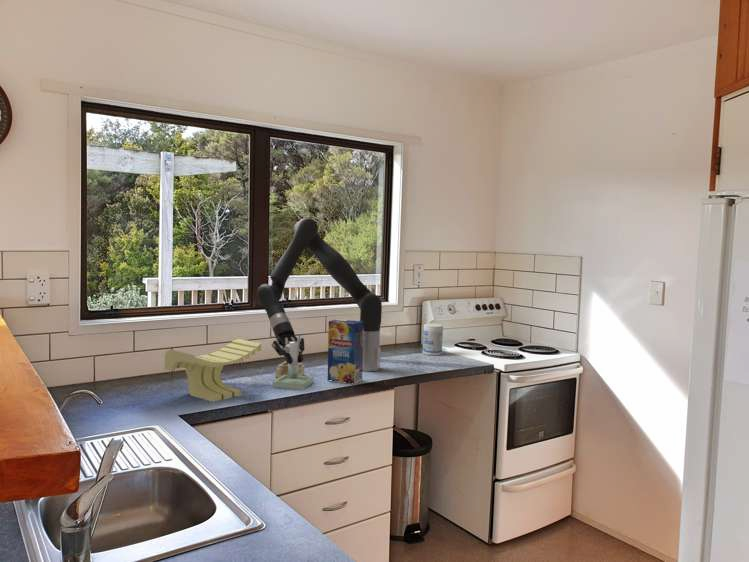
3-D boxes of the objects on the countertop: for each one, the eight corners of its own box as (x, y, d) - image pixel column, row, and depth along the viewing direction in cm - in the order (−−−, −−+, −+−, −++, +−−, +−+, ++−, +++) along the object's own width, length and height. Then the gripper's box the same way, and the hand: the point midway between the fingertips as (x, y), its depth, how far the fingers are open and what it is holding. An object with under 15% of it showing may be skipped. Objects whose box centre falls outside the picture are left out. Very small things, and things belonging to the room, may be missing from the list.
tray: (313, 382, 243) (313, 376, 243) (302, 389, 231) (302, 384, 231) (284, 379, 246) (284, 374, 246) (272, 387, 234) (272, 381, 234)
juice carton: (362, 380, 248) (363, 321, 246) (354, 384, 241) (355, 323, 239) (336, 376, 253) (337, 319, 251) (327, 380, 246) (328, 321, 244)
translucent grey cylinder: (299, 376, 240) (300, 341, 239) (296, 379, 236) (296, 343, 235) (290, 376, 241) (290, 340, 240) (286, 378, 237) (287, 342, 236)
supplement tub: (419, 354, 303) (420, 325, 302) (426, 351, 312) (427, 322, 311) (437, 356, 299) (438, 326, 298) (444, 353, 307) (445, 324, 306)
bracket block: (304, 374, 255) (304, 362, 255) (296, 379, 246) (296, 367, 246) (283, 373, 257) (284, 361, 257) (275, 378, 248) (275, 365, 248)
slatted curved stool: (233, 383, 239) (233, 337, 237) (260, 390, 229) (261, 343, 228) (164, 398, 216) (164, 348, 214) (191, 407, 206) (191, 354, 204)
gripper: (268, 322, 238) (283, 358, 230) (300, 319, 247) (315, 355, 238) (262, 333, 243) (276, 369, 234) (293, 330, 252) (308, 365, 243)
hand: (296, 362), depth 236 cm, fingers closed on translucent grey cylinder, 4 cm apart
